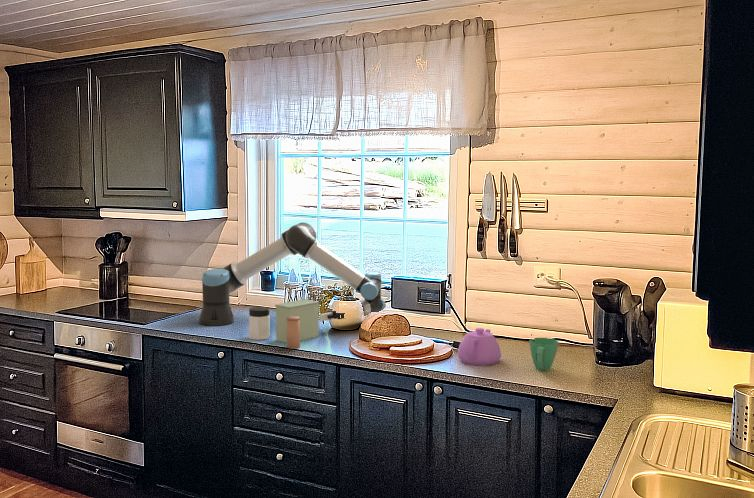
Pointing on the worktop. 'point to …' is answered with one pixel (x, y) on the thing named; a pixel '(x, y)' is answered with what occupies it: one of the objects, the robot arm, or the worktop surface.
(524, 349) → the worktop surface
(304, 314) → the green tin
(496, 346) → the teapot
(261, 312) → the jar
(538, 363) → the mug
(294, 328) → the rust tin
